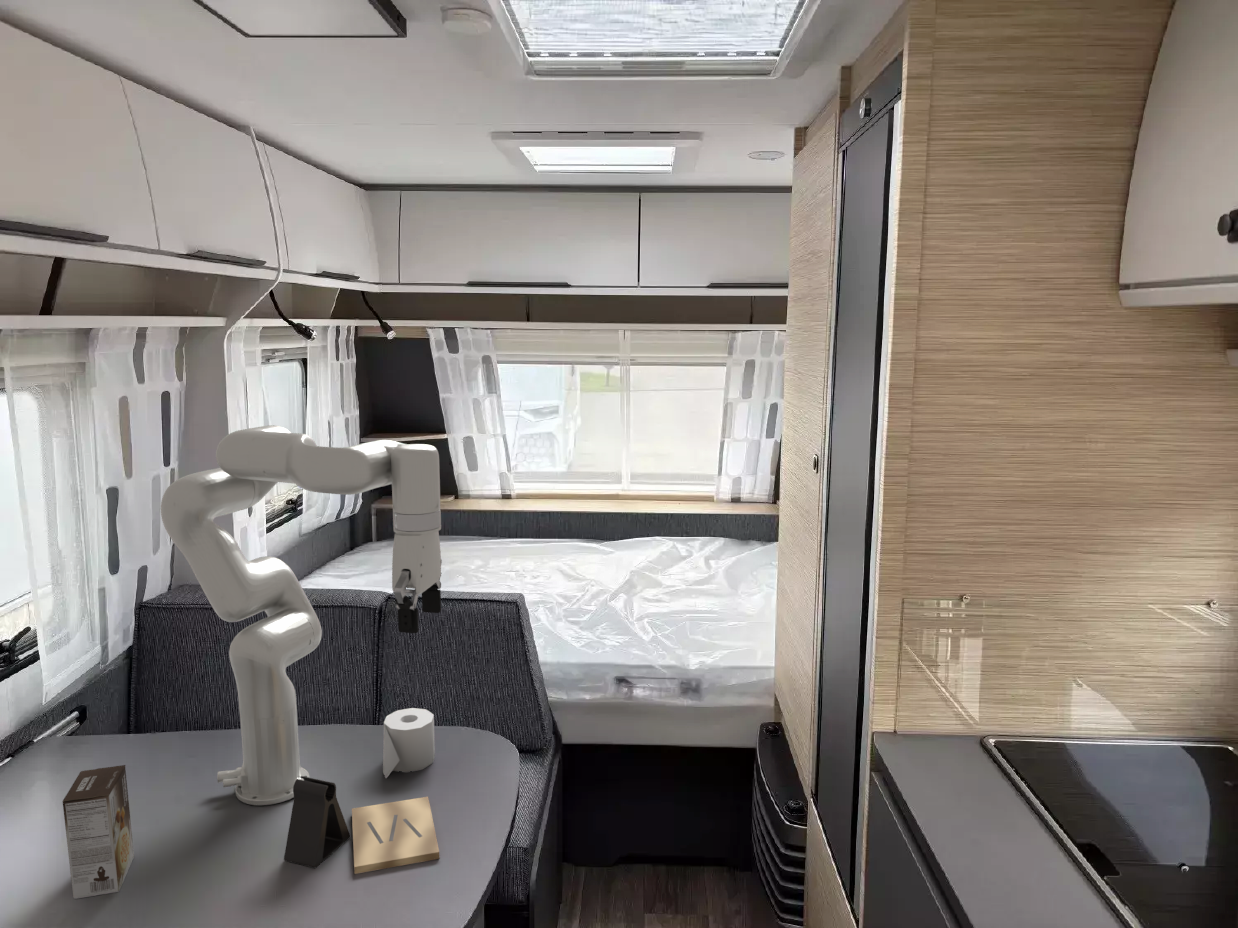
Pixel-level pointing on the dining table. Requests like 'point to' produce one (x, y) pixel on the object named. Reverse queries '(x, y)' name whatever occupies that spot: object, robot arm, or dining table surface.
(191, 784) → the dining table surface
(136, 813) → the dining table surface
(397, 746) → the toilet tissue
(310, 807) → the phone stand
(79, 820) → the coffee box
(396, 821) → the marked board
